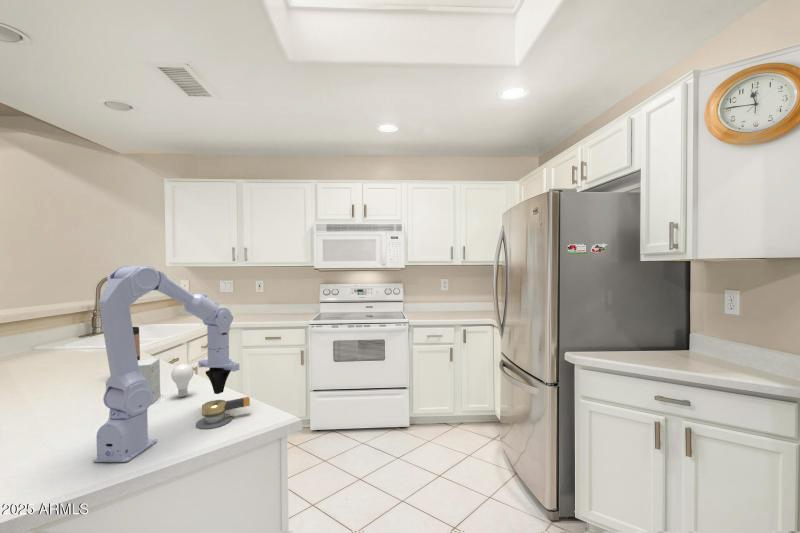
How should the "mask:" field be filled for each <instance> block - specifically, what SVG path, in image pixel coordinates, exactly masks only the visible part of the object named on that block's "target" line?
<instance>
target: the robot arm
mask: <svg viewBox="0 0 800 533" xmlns="http://www.w3.org/2000/svg"><path fill="white" fill-rule="evenodd" d="M106 280H107V282H106V285H105V287H104V289H103V292H102V293H101V296H100V298H99V301H98V307H99V314H100V319H101V325H102V332H103V338H104V344H105V350H106V357H107V363H108V368H109V375H110V376H109V377H108V378H107V380H106V381H105V392H104V395H103V398H102V400H103V403H104V406H105V407H106V408H107V409H109V413H108V419H107V421H106V422H105V423H104V424H102V425H101V426H100V427H99V428H98V430H97V432H96V457H95V458H94V459H93V463H127V462H129V461H130V460H132V459H134V458H135V457H136V456H138V455H139V454H141V453H142V452H144V451H145V450H146V449H149V447H151V446H153V445H154V444H155V443H157V442H158V439H154V438H152V439H151V438H150V439H149V433H148V432H149V431H148V430H149V429H148V427H149V425H148V424H149V422H148V419H149V418H148V409H149V408H150V406H152V404H151V403H152V400H153V393H152V391H151V389H150V388H149V387H148V386H147V382H146V379H145V378H144V376H143V375H142V374H141V372H140V371H139V366H138V359H137V353H136V347H135V340H134V334H133V327H134V326H133V322H132V315H131V314H132V313H131V309H130V307H131V306H132V305H133V304H134V303H135V302H136V301H137V300H138V299H139V298H141V297H143V296H144V295H146V294H148V293H150V292H152V291H157V292H159V293H162V294H164V295H165V296H167V297H170V298H171V299H173V300H175V301H177V302H179V303H181V304H182V305H183V306H184V310H185V311H186V312H187V313H189V314H191V315H193V316H194V317H196V318H198V319H200V320H201V321H202V323H203V325H204V326H207V328H206V330H207V335H206V336H207V341H206V342H207V359H200V360H198V364H197V365H198V366H197V367H198V368H209V369H208V370H206V371H205V376H207V378H208V379H209V382H210V384H211V386H212V389H213V394H215V395H219V394H221V393H224V390H225V385H226V382H227V380H228V377H229V376H230V373H231V372H237V371H239V370H240V362H236V361H235V362H234V361H232V359H231V358H230V331H231V325H232V323H233V320H234V315H232V312H231V310H230V309H229V308H226V307H221V306H220V304H219V302H214V301H212V300H210V299H209V298H207V297H208V295H207V294H205V293H194V294H193V293H191V292H190V291H188V289H186V288H184V287H183V286H182V285H180V284H179V283H177V282H176V281H174V280H173V279H171V278H170V277H168V276H167V275H166V274H165V273H164V272H162V271H161V270H157V269H156V268H155V267H154V266H151V265H146V264H145V265H140V266H139V265H137V266H130V265H129V266H128V265H124V266H119V267H118V268H116V269H115V270H114V271H112V272H111V273H110V274H108V276H107V277H106Z"/></svg>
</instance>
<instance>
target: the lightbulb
mask: <svg viewBox="0 0 800 533" xmlns="http://www.w3.org/2000/svg"><path fill="white" fill-rule="evenodd" d="M170 375H171V376H170V377H171V379H172V381H173V382H174V384H176V388H177V392H178V394H177V395H178V397H180V398H184V397H186V396H188V394H189V393H188V387H189V384H190V381H191V380H192V379H193V376H194V369H193V367H192V366H191V365H190V364H188V363H182V364H178V365H175V367H174V368H173V369H172V370H171V374H170Z"/></svg>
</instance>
